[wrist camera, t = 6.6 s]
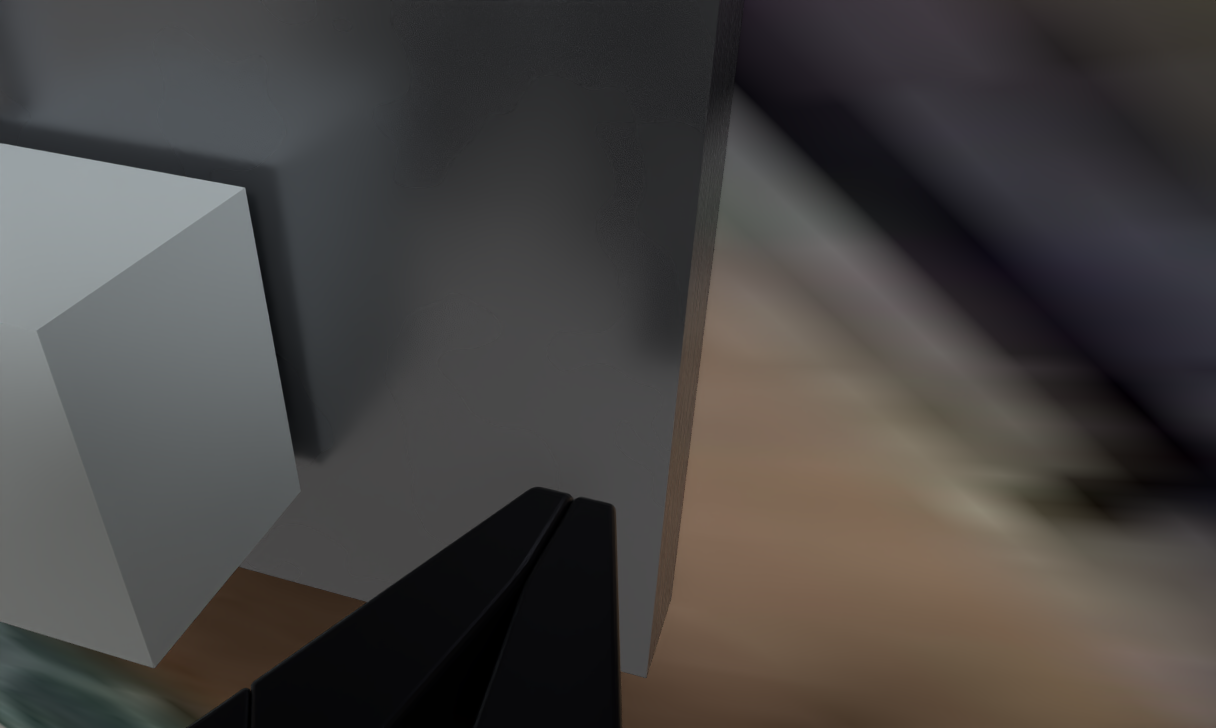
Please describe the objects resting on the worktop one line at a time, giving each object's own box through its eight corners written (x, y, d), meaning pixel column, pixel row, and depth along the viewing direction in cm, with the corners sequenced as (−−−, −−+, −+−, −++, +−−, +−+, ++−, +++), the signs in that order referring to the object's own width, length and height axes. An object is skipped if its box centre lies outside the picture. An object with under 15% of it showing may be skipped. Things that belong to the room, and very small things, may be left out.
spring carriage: (191, -109, 9) (-93, -38, 6) (301, 491, 13) (154, 668, 11) (-162, -148, 10) (-528, -99, 7) (49, 428, 14) (-140, 580, 11)
